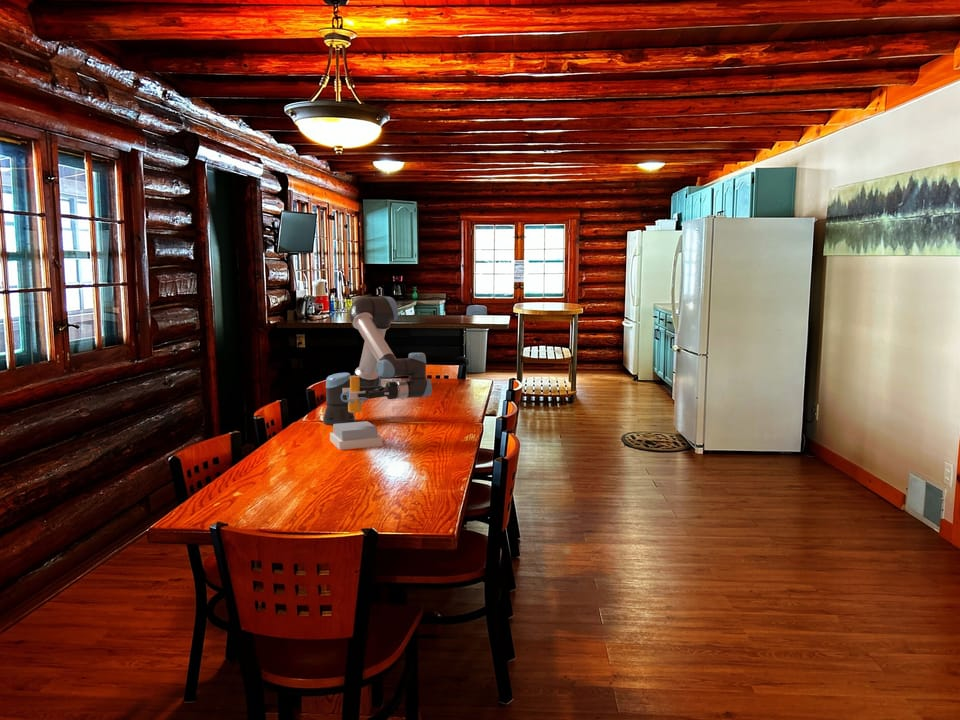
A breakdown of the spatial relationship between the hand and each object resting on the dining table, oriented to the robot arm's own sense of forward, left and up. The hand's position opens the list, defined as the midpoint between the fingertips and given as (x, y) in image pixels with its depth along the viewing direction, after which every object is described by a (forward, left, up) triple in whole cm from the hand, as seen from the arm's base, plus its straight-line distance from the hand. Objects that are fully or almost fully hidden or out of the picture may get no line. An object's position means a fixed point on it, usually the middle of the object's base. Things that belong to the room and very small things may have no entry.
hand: (345, 393), depth 301 cm
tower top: (0, +4, -18) cm, 18 cm away
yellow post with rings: (0, +4, -8) cm, 9 cm away
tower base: (0, +4, -22) cm, 23 cm away
